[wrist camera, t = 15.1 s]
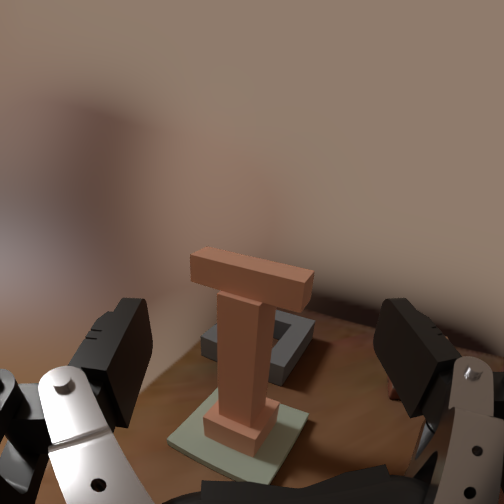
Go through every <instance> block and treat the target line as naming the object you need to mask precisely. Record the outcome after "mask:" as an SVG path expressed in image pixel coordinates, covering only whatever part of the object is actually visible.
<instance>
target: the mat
mask: <svg viewBox="0 0 504 504" xmlns="http://www.w3.org/2000/svg"><path fill="white" fill-rule="evenodd" d="M217 400H218V388H217V389H216V390H215V391H214V392H213V393H212V394H211V395H210V396H209V397H208V398H207V399H206V400H205V401H204V402H203V403H202V404H201V405H200V406H199V407H198V408H197V409H196V410H195V411H194V412H193V413H192V414H191V415H190V416H189V417H188V418H187V419H186V420H185V421H184V422H183V423H182V424H181V425H180V426H179V427H178V428H177V429H176V430H175V431H174V432H173V433H172V434H171V435H170V436H169V437H168V438H167V443H168V445H169V446H171V447H172V448H174V449H176V450H177V451H179V452H181V453H183V454H184V455H186V456H188V457H190V458H192V459H193V460H195V461H197V462H199V463H201V464H203V465H205V466H206V467H208V468H210V469H212V470H214V471H216V472H218V473H220V474H222V475H224V476H226V477H229V478H231V479H233V480H235V481H237V482H243V481H250V482H255V483H261V484H267V485H270V483H271V482H272V480H273V478H274V477H275V475H276V474H277V472H278V470H279V469H280V467H281V465H282V464H283V462H284V460H285V459H286V457H287V455H288V454H289V452H290V450H291V448H292V447H293V445H294V443H295V441H296V439H297V438H298V436H299V434H300V432H301V430H302V429H303V427H304V425H305V423H306V421H307V419H308V415H309V413H306V412H303V411H300V410H297V409H294V408H291V407H288V406H285V405H282V404H280V405H279V410H278V416H277V422H276V423H275V425H274V427H273V428H272V430H271V431H270V433H269V435H268V436H267V438H266V439H265V441H264V442H263V444H262V445H261V447H260V448H259V450H258V451H257V453H256V454H255V456H254V457H250V456H248V455H245V454H243V453H241V452H238V451H236V450H234V449H231V448H229V447H227V446H225V445H223V444H221V443H218V442H216V441H214V440H212V439H210V438H208V437H206V436H205V435H204V425H203V416H204V415H205V414H206V413H207V411H208V410H209V409H210V408H211V407H212V406H213V405H214V404H215V403H216V401H217Z"/></svg>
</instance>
